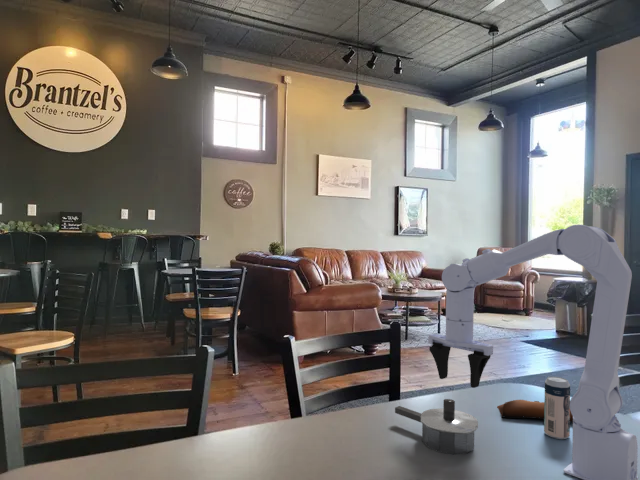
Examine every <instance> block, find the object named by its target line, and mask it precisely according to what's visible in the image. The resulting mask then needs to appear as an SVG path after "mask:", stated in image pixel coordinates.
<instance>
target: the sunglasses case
mask: <svg viewBox="0 0 640 480" xmlns="http://www.w3.org/2000/svg"><path fill="white" fill-rule="evenodd" d="M544 402H545V401H539V400H533V401H532V400H527V399H526V400H525V399H515V400H514V399H513V400H509V401H505V402H504V403H503V404H500V405H497V407H496V408H497V409H498V412H499V413H500V416H501V418H508V419H509V418H510V419H511V418H512V419H513V418H514V419H515V418H516V419H517V418H519V419H522V418H523V419H524V418H525V419H528V418H529V419H530V418H532V419H533V418H534V419H539V420H540V419H541V420H544ZM570 422H572V423H573V415H572V413H571V411H570Z"/></svg>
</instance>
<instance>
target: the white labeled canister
mask: <svg viewBox="0 0 640 480" xmlns="http://www.w3.org/2000/svg"><path fill="white" fill-rule="evenodd" d="M570 400H571V384H570V382H569V380H568V379H566V378H564V377H560V376H548V377H547V378H546V379H545V381H544V401H543V402H544V419H543V423H544V424H543V425H544V426H543V431H544V434H546V435H547V436H548V437H550V438H551V439H556V440H566V439H569V437H571V436H570V432H571V431H570V429H571V428H570V427H571V426H570V425H571V424H570V422H571V421H570Z"/></svg>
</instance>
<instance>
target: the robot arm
mask: <svg viewBox="0 0 640 480" xmlns="http://www.w3.org/2000/svg"><path fill="white" fill-rule="evenodd" d="M481 253H482V254H480V255H478V256H477V255H476V256H474V257H472V258H469V257H467V258H463V259H462V263H460V264H459V263H451V264H449V265H448V266H446V267H445V268H444V269H443V271H442V272H441V273H442V274H441V283H442V285H443V286H444V287H445V288H446V291H445V292H446V294H445V297H446V298H445V335H443V334H436V333H431V334H428V342H427V343H428V344H431V346H429V348H428V349H429V352H430V353H431V355H432V358H433V359H434V362H435V365H436V369H437V373H438V377H439V378H438V379H439V380H444V379H446V378H448V375H449V374H448V373H449V357H450V352H451V348H454V349H458V350H464V351H468V352H472V353H468V354H467V359H468V362H469V370H470V375H469V376H470V380H469V381H470V382H469V383H470V388H473V389H475V388H477V387H479V385H480V381H481V378H482V375H483V372H484V370H485V367H486V366H487V364H488V362H489V360H490V359H491V356H492V355H494V345H493V344H489V343H485V342H482V341H478V340H475V339H474V315H475V314H474V311H475V310H474V307H475V305H474V304H475V303H474V302H475V301H474V300H475V289H476V287H477V286H480V285H482V284H486V283H488V282H491V281H493V280H497V279H500V278H502V277H505V276H507V274H508V273H509V271H510V268H511V267H513V266H517V265H519V264H523V263H525V262H529V261H532V260H534V259H538V258H541V257H544V256H547V255H552V256H553V255H554V256H565V257H566V258H567V259H568V260H571V261H573V262H574V263H577V264H578V265H580V266H581V267H583V268H584V269H585V270H586V271H587V272H588V273H589V274H590V275H591V277H592V278H594V279H595V280H596V288H595V294H594V301H593V307H592V315H591V316H592V317H591V322H590V329H589V335H588V344H587V348H586V356H585V364H584V369H583V372H582V374H581V377H580V379H579V382H578V388H577V390H576V392H575V393H574V394H573V396H572V397H570V411H571V413H572V415H573V422H572V454H571V456H572V458H571V459H572V460H571V461H572V462H571V463H569V464H568V465H567V466H566V467H564V468H563V473H565V474H567V475H570V476H573V477H575V478H578V479H581V480H639V476H638V450H639V449H638V438H637V436H636V435H635V434H634V433H632V432H628V431H626V430H624V429H623V428H621V426H622V425H621V423H620V422H619V418H617V415H616V414H618V413H619V412H620V411H621V410H622V407H623V397H622V395H621V392H620V386H619V384H620V378H619V377H620V376H619V373H618V371H619V365H620V358H621V352H622V345H623V338H624V331H625V325H626V319H627V311H628V306H629V305H628V303H629V297H630V291H631V284H632V279H633V276H632V275H633V274H632V272H633V271H632V270H631V268H630V266H629V264H628V262H627V261H626V259H625V257H624V255H623V254H622V251H621V250H620V247H619V245H618V243H617V240H616V239H615V238H614V237H613V236H611V235H610V234H609V233H608V232H607V231H605V230H604V229H602V228H601V227H598V226H590V225H589V226H588V225H585V224H578V223H577V224H573V225H569V226H568V227H566V228H561V229H556V230H553V231H550V232H547V233H544V234H542V235H539V236H537V237H535V238H533V239H530V240H528V241H526V242H524V243H521V244H520V245H517V246H515V247H513V248H510V249H508V250H506V251H500V250H497V249H492V250H491V248H486V249H484V250H482V251H481Z"/></svg>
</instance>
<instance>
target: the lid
mask: <svg viewBox="0 0 640 480" xmlns="http://www.w3.org/2000/svg"><path fill="white" fill-rule="evenodd" d="M455 402H456V401H455V400H454V399H450V398H445V399H443V406H442V407H443V408H431V409H430V408H429V409H427V410H425V411H423V412H421V422H422V423H421V422H420V423H421V424H423V425H425V426H426V427H428V428H430V429H432V430H435V431H438V432H442V433H448V434H468V433H472V432H474V433H475V432H476V431H477V430H478V428H479V421H478V419H477V418H476V417H475V416H473V415H471V414H470V413H467V412H464V411H462V410H457V409H456V407H455V406H456V403H455Z"/></svg>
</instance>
